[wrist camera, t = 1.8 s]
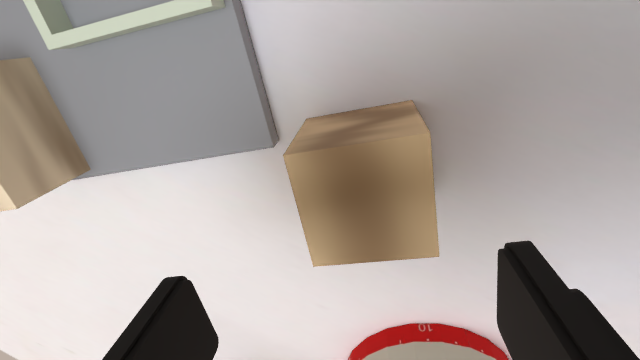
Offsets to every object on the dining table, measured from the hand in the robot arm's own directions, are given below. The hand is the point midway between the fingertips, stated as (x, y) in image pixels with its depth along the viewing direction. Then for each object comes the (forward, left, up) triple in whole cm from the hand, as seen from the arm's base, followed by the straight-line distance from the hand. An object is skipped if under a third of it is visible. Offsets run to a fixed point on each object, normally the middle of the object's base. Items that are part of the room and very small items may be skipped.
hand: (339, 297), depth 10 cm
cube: (-1, 0, -11) cm, 11 cm away
